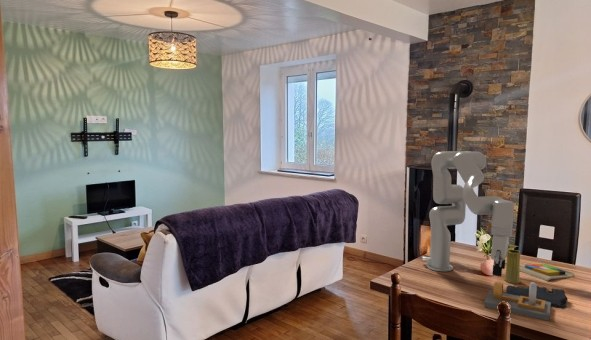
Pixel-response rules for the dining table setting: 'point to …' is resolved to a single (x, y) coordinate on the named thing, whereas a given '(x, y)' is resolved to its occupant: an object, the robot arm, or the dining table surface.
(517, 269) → the vase
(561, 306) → the dark slate chunk
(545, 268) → the wooden puzzle
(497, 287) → the link
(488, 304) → the keeper board
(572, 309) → the dining table surface
